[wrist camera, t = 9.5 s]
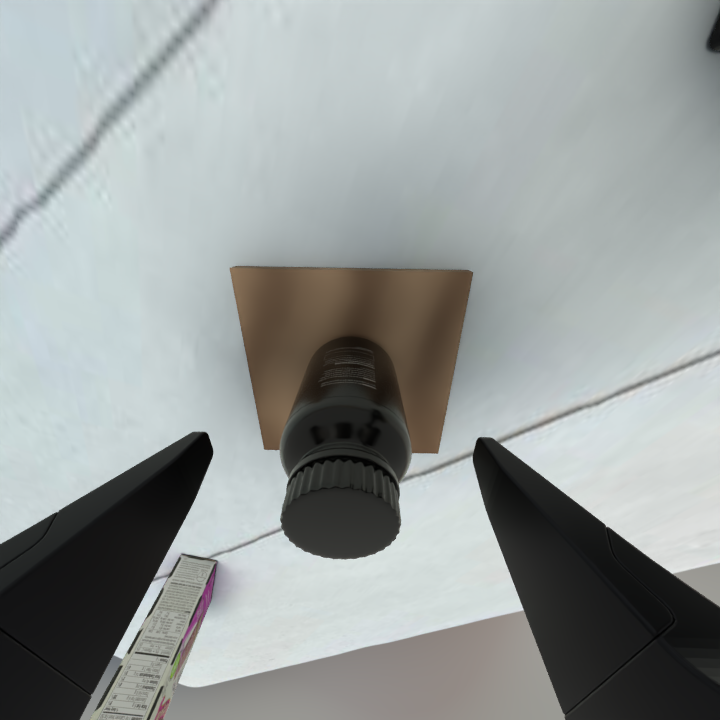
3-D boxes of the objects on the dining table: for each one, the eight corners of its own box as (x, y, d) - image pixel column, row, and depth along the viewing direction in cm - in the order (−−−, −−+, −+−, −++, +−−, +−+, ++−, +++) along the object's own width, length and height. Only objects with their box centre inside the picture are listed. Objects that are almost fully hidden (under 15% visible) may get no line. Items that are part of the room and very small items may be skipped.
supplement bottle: (293, 383, 22) (222, 539, 11) (337, 315, 19) (303, 430, 8) (363, 422, 23) (362, 590, 13) (413, 364, 21) (466, 513, 10)
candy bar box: (214, 600, 40) (125, 819, 25) (178, 594, 39) (67, 815, 24) (220, 559, 35) (115, 801, 20) (180, 552, 34) (42, 795, 20)
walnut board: (467, 270, 19) (473, 272, 18) (435, 445, 26) (438, 453, 25) (236, 265, 19) (229, 268, 18) (267, 441, 26) (264, 449, 25)
